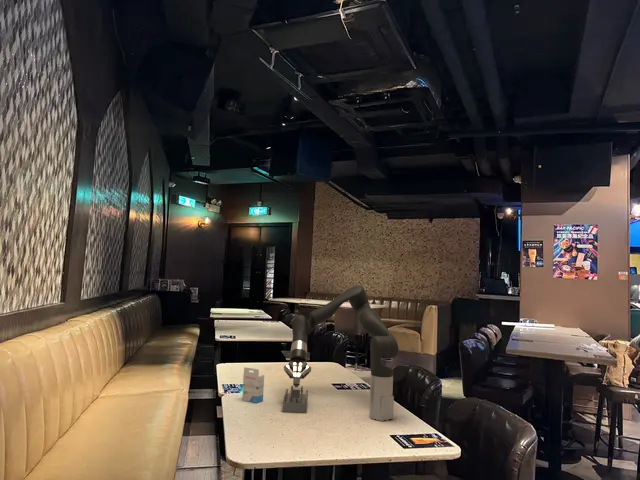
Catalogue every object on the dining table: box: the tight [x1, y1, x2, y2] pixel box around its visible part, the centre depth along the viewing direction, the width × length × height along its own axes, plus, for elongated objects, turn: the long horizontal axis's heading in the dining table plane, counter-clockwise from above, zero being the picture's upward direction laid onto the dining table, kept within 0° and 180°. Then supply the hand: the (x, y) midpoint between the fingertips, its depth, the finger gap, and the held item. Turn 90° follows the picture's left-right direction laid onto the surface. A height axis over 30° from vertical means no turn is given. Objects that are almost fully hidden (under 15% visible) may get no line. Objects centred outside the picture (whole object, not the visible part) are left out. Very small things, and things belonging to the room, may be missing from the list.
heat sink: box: [282, 385, 309, 414], centre depth 201 cm, size 15×10×9 cm, turn 0°
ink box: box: [241, 367, 265, 404], centre depth 209 cm, size 9×5×15 cm, turn 62°
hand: (296, 385), depth 202 cm, fingers closed
